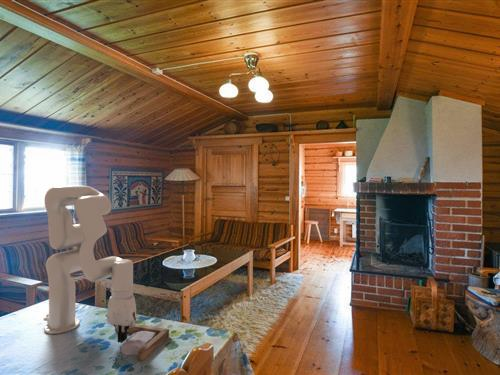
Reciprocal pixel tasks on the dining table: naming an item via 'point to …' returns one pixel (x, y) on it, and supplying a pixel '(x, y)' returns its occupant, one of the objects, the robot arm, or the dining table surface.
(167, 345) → the dining table surface
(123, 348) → the stone block
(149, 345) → the wooden corner frame
